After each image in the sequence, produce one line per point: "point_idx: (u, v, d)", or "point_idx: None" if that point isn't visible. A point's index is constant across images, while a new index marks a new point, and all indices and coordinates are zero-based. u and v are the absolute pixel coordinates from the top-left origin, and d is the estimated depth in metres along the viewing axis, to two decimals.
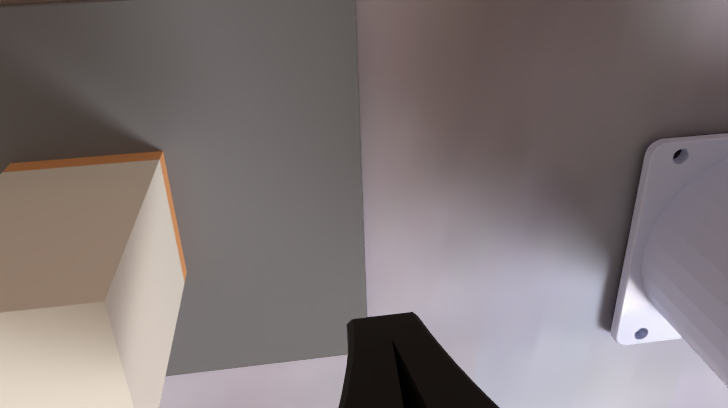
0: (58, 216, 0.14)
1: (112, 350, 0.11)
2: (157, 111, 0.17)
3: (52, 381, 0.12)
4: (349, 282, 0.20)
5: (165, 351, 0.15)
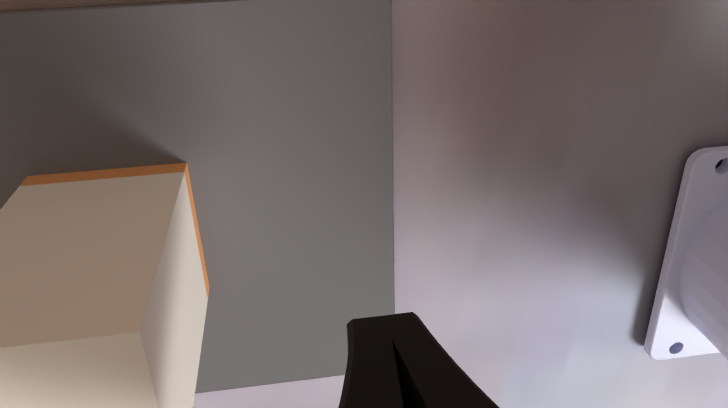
0: (83, 234, 0.13)
1: (146, 383, 0.11)
2: (181, 121, 0.16)
3: None
4: (377, 297, 0.19)
5: (193, 375, 0.14)
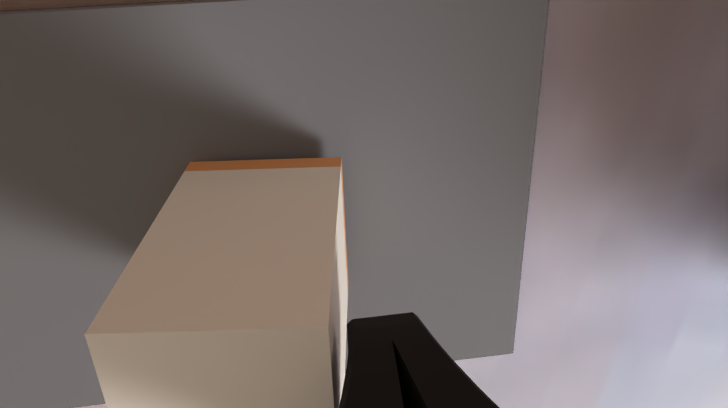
0: (254, 223, 0.13)
1: (326, 379, 0.11)
2: (340, 108, 0.16)
3: (259, 404, 0.11)
4: (504, 282, 0.20)
5: (344, 371, 0.14)
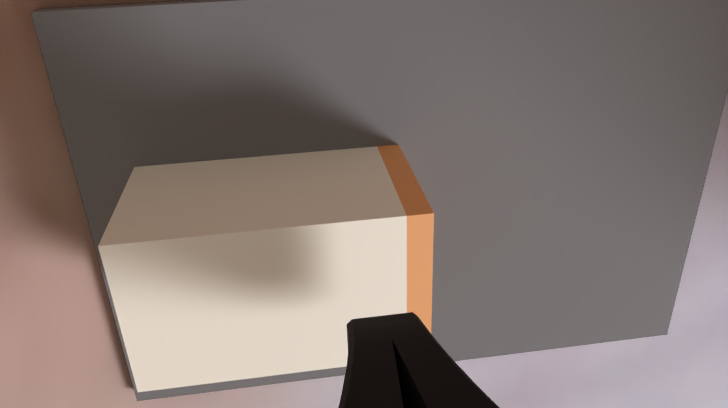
0: (272, 192, 0.15)
1: (111, 287, 0.13)
2: (545, 93, 0.17)
3: None
4: (669, 264, 0.20)
5: (260, 364, 0.15)
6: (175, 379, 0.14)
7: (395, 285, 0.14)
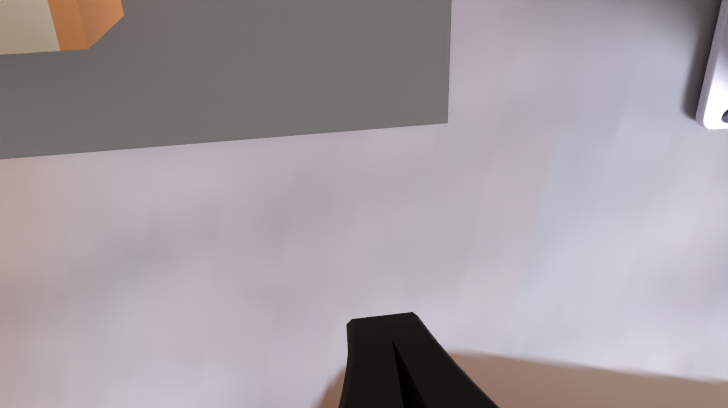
0: None
1: None
2: None
3: None
4: (433, 32, 0.19)
5: None
6: None
7: None
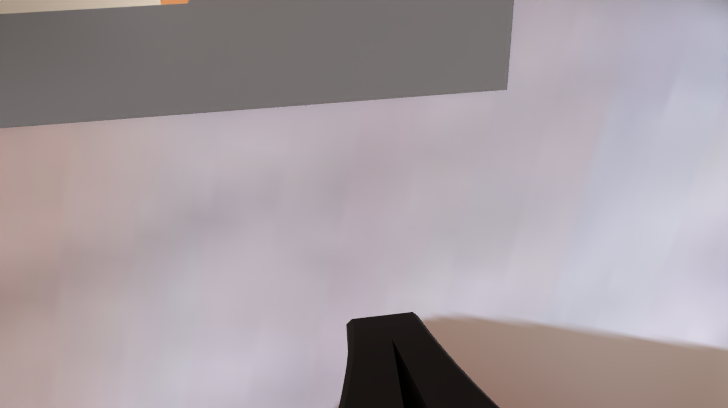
0: None
1: None
2: None
3: None
4: None
5: None
6: None
7: None
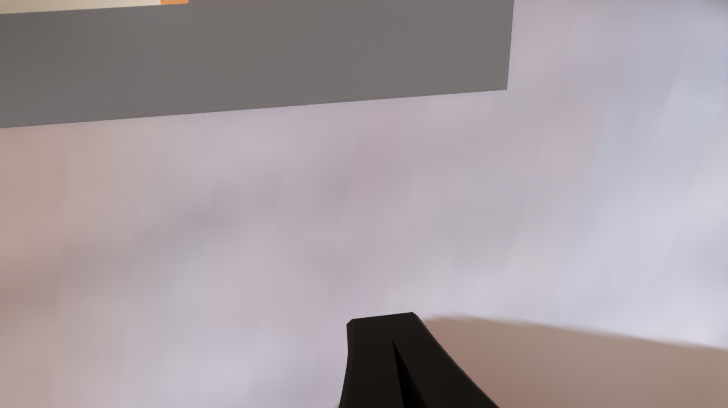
0: None
1: None
2: None
3: None
4: None
5: None
6: None
7: None
